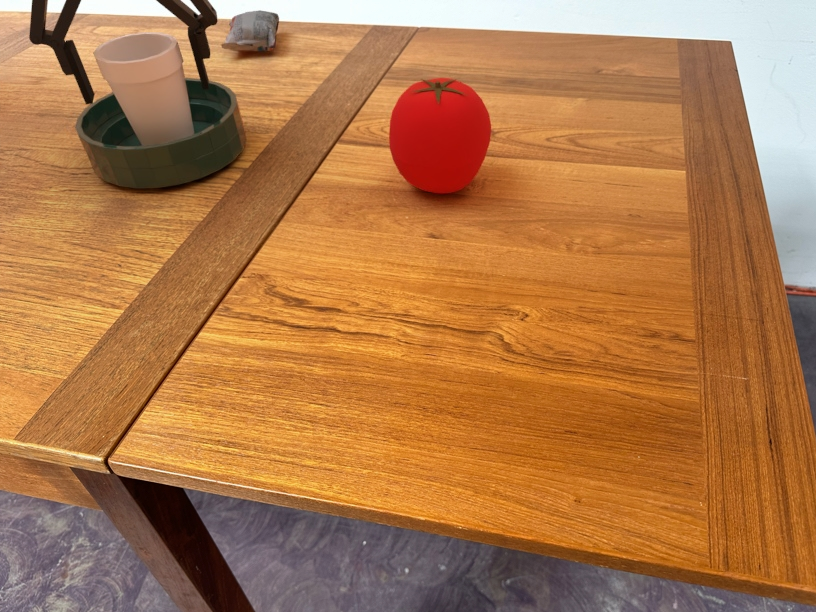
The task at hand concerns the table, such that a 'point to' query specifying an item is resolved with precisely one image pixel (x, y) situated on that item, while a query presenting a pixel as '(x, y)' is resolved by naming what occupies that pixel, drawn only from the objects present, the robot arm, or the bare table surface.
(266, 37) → the packaged food
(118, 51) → the foam cup
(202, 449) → the table surface
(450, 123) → the tomato
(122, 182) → the bowl
